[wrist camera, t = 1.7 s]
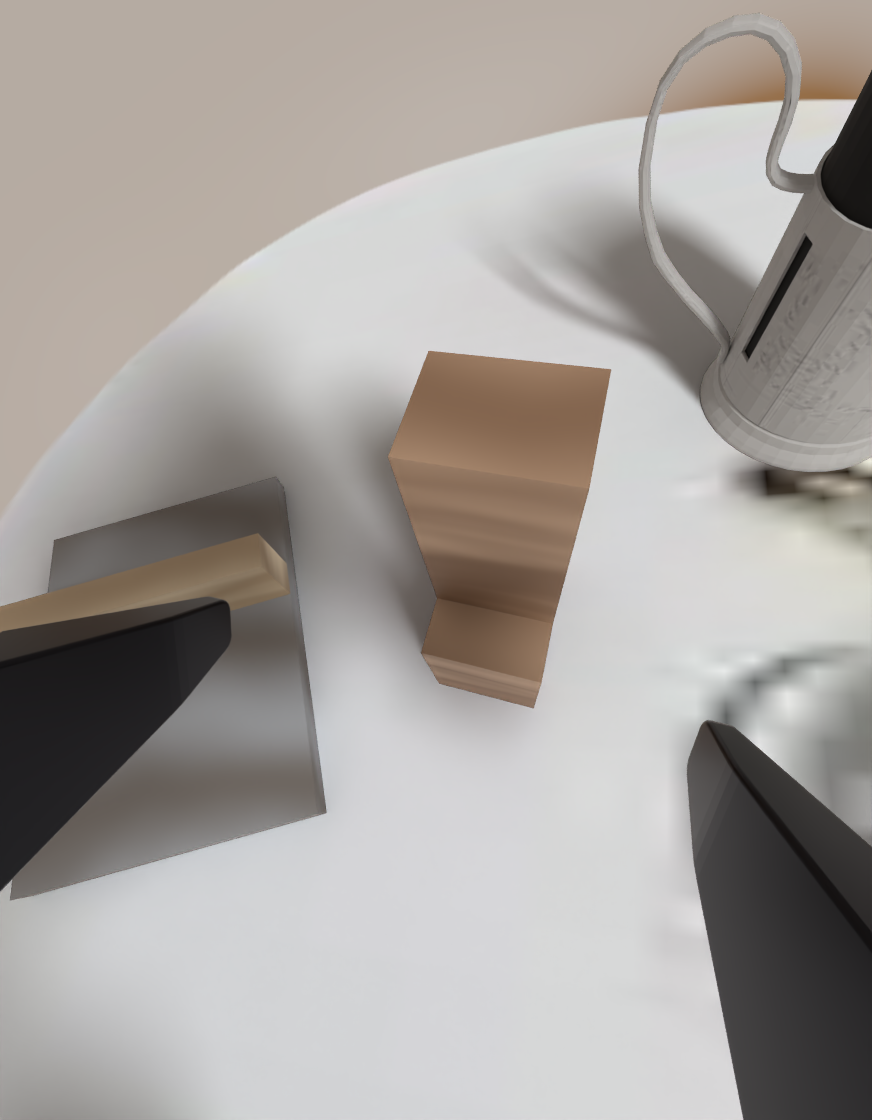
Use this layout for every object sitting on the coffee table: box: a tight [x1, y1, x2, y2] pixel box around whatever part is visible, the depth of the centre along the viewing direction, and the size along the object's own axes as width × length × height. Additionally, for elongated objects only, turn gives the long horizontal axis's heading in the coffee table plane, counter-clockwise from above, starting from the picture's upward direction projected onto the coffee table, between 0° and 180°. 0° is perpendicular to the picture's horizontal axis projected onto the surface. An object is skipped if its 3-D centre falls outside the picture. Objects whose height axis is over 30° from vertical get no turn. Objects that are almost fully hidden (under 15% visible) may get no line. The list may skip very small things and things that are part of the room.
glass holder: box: [639, 13, 872, 472], centre depth 19 cm, size 9×14×15 cm, turn 71°
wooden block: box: [388, 351, 611, 708], centre depth 16 cm, size 7×4×13 cm, turn 164°
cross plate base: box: [0, 477, 326, 900], centre depth 21 cm, size 16×12×4 cm
